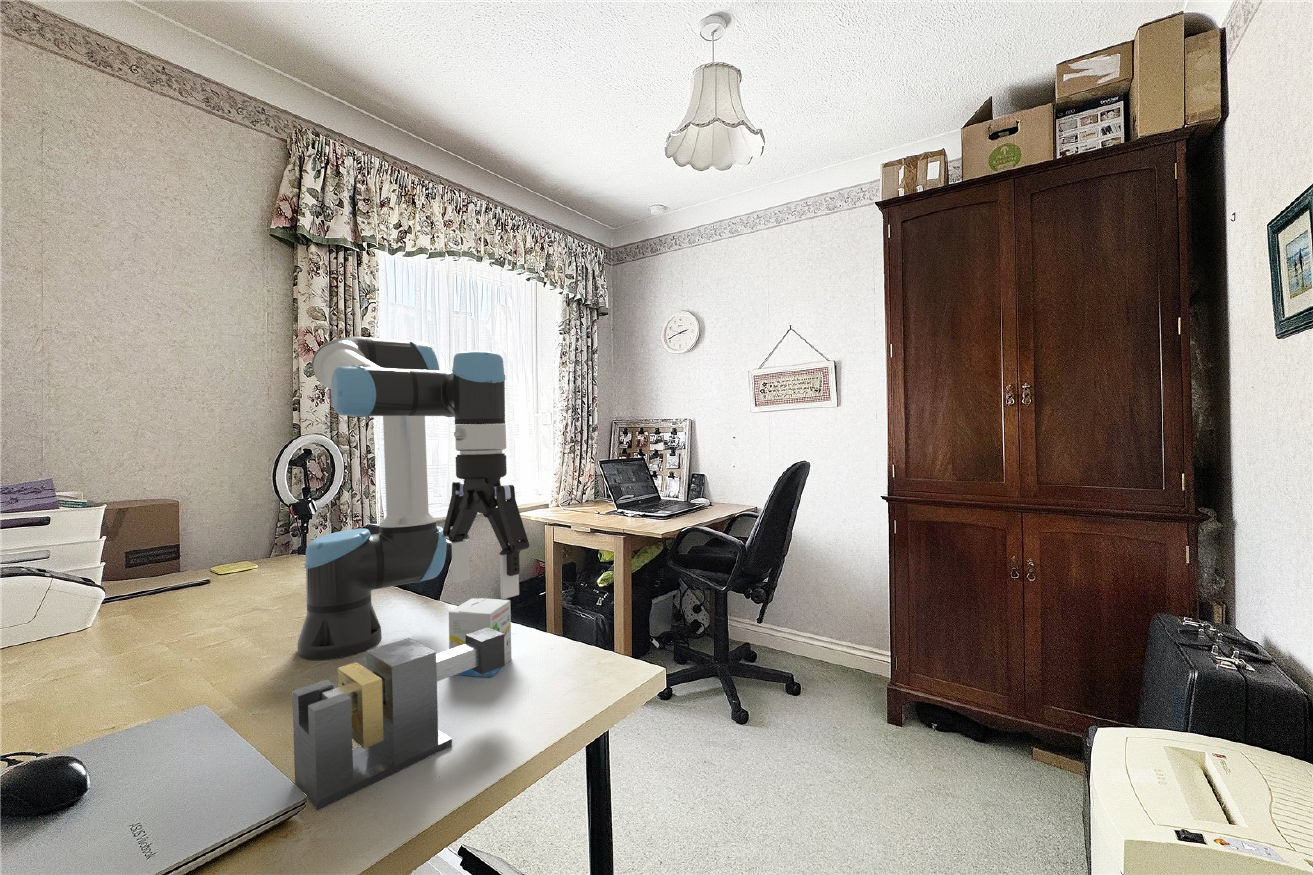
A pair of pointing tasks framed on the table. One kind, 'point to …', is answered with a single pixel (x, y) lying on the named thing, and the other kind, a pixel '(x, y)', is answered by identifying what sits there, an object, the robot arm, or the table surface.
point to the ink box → (480, 625)
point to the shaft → (452, 661)
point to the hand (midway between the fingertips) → (484, 588)
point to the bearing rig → (407, 726)
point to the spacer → (364, 703)
